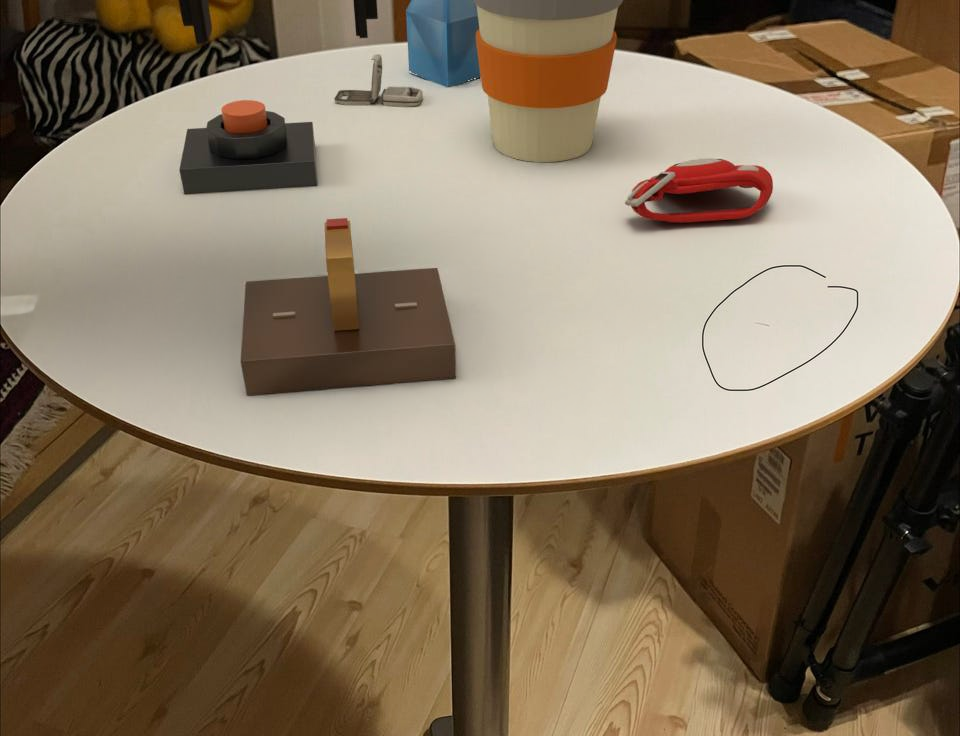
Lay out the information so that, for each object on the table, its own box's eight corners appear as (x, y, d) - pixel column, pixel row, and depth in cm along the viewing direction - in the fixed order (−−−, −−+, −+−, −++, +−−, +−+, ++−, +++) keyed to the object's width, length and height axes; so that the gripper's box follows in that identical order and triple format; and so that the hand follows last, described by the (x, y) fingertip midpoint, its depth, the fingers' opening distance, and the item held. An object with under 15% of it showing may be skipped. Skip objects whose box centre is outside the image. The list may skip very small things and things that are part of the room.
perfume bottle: (447, 87, 106) (444, -42, 98) (409, 73, 109) (403, -54, 102) (492, 73, 109) (492, -53, 101) (453, 60, 113) (450, -64, 105)
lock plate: (246, 395, 64) (240, 359, 62) (250, 313, 72) (245, 279, 70) (456, 378, 65) (455, 341, 64) (438, 299, 73) (437, 265, 71)
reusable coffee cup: (552, 107, 101) (558, -64, 92) (640, 147, 94) (658, -35, 84) (446, 137, 96) (441, -42, 86) (531, 182, 88) (536, -9, 78)
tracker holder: (661, 157, 89) (780, 147, 84) (664, 210, 91) (781, 203, 86) (613, 177, 79) (746, 166, 75) (618, 236, 81) (747, 229, 76)
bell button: (223, 137, 87) (220, 116, 85) (225, 121, 89) (222, 101, 88) (267, 134, 87) (264, 114, 86) (268, 119, 90) (265, 98, 89)
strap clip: (423, 97, 104) (422, 53, 101) (419, 108, 102) (417, 62, 99) (340, 94, 105) (336, 50, 102) (333, 105, 102) (329, 60, 100)
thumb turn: (359, 329, 65) (352, 252, 62) (333, 331, 65) (325, 254, 62) (356, 290, 69) (349, 216, 65) (332, 292, 69) (324, 217, 65)
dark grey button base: (184, 194, 87) (174, 147, 84) (191, 153, 93) (183, 108, 91) (317, 186, 88) (312, 139, 85) (315, 145, 94) (310, 101, 92)
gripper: (53, -311, 50) (132, 60, 61) (415, -315, 51) (427, 48, 62) (81, -318, 55) (148, 22, 66) (406, -322, 57) (419, 12, 68)
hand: (283, 34), depth 64 cm, fingers open, 9 cm apart
